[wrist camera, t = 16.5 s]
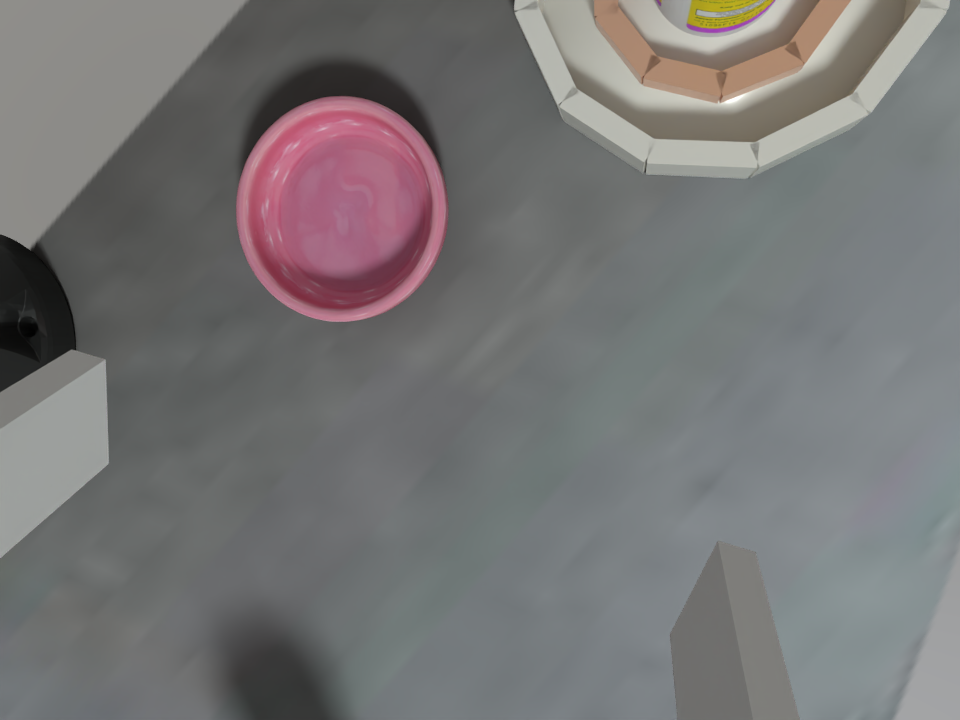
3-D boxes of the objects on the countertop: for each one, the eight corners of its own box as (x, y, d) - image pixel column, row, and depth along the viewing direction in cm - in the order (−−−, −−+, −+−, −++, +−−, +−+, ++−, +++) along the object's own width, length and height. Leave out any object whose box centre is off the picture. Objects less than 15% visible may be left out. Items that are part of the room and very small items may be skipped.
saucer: (501, 204, 40) (490, 196, 37) (366, 363, 42) (345, 367, 39) (347, 66, 41) (324, 46, 38) (225, 228, 43) (194, 222, 40)
